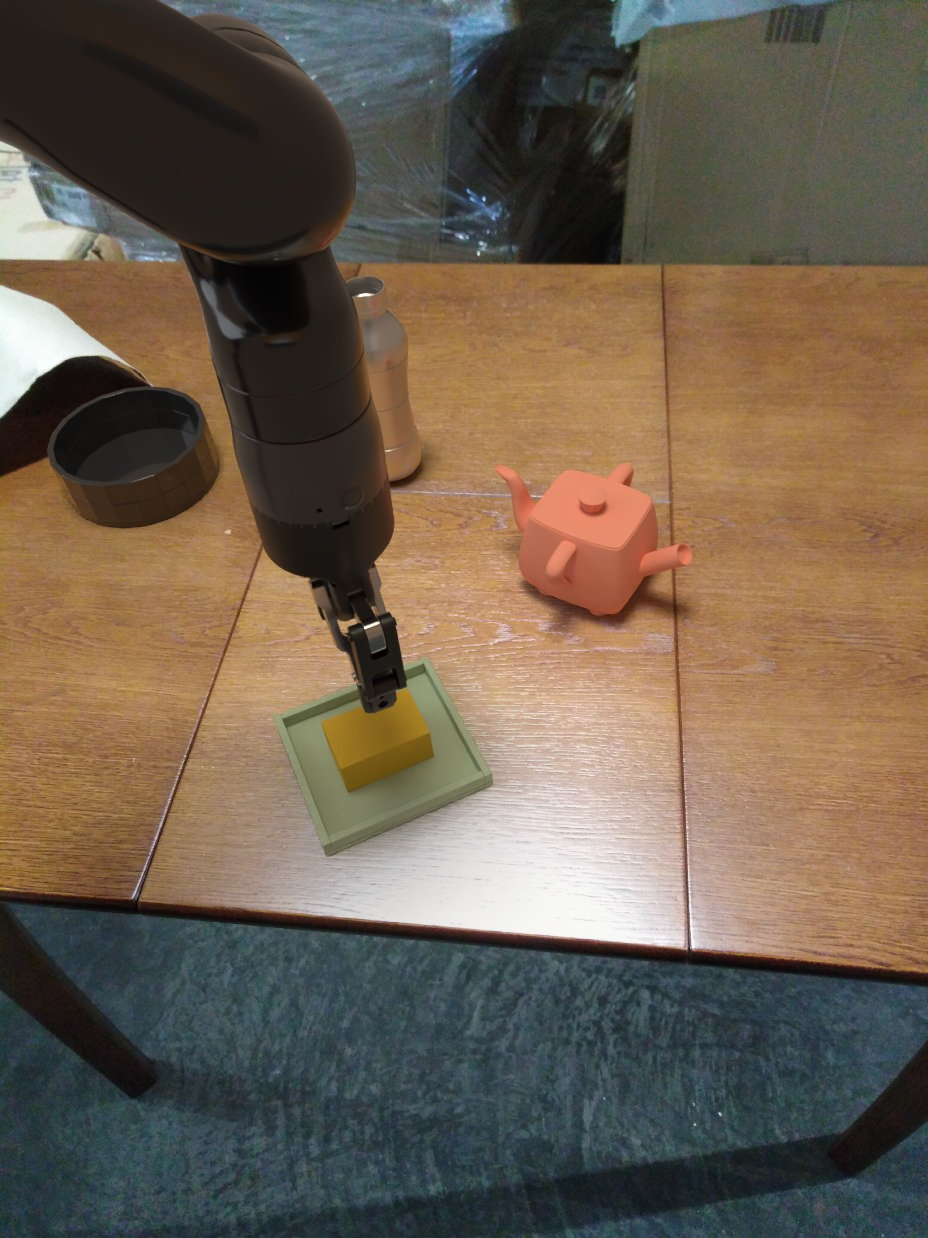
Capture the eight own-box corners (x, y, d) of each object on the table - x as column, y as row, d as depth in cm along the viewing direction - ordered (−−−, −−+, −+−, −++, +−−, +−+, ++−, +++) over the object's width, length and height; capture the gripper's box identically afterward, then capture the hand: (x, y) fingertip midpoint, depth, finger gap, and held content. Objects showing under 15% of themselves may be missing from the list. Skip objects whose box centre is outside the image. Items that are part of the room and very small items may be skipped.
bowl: (82, 547, 86) (59, 505, 82) (59, 455, 95) (38, 413, 91) (235, 496, 89) (221, 453, 85) (199, 413, 98) (184, 370, 94)
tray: (326, 857, 64) (322, 846, 63) (277, 727, 71) (273, 716, 70) (492, 784, 67) (492, 773, 66) (429, 667, 74) (427, 655, 73)
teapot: (647, 521, 84) (659, 435, 76) (685, 617, 76) (702, 532, 68) (497, 542, 83) (493, 458, 75) (520, 641, 76) (518, 559, 68)
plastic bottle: (417, 492, 88) (395, 309, 73) (351, 487, 89) (315, 305, 74) (429, 449, 92) (410, 267, 77) (365, 445, 93) (334, 265, 78)
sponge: (348, 793, 67) (340, 769, 64) (328, 746, 69) (320, 721, 67) (434, 757, 68) (430, 732, 66) (411, 712, 71) (407, 687, 68)
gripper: (212, 416, 50) (272, 604, 63) (287, 584, 42) (339, 763, 54) (338, 379, 52) (371, 569, 65) (434, 532, 44) (451, 717, 56)
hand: (357, 657), depth 59 cm, fingers open, 8 cm apart
